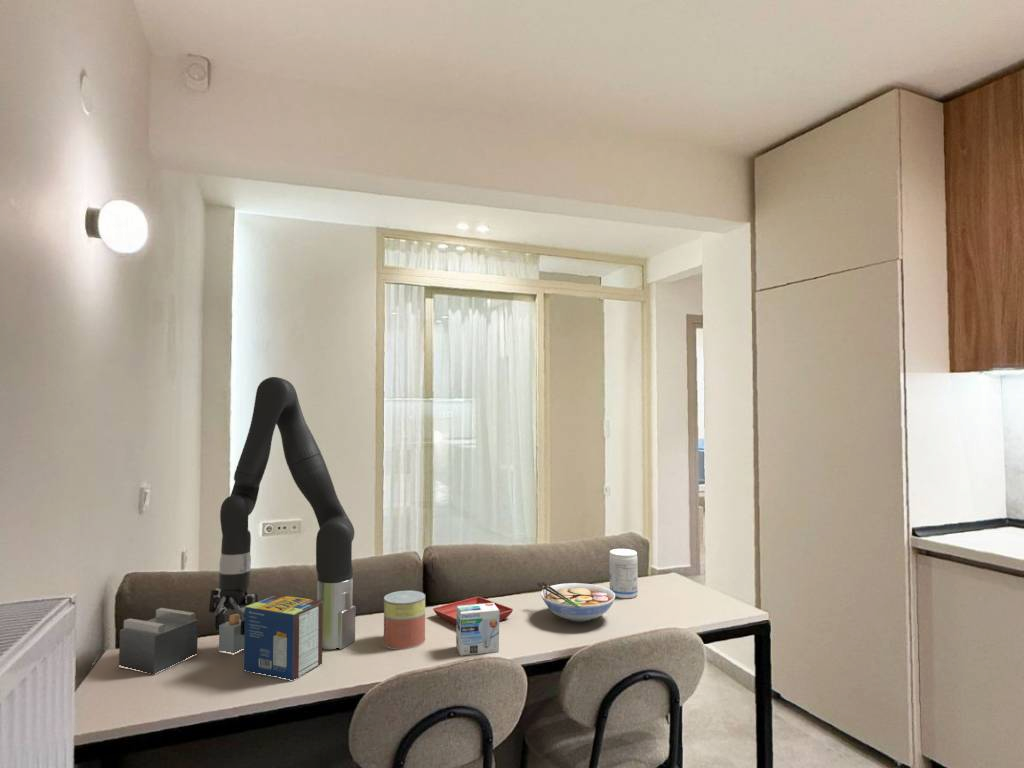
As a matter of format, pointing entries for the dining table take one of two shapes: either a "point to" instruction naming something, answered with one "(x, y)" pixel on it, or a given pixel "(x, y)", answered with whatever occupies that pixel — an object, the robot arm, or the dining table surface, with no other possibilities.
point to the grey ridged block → (158, 640)
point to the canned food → (404, 619)
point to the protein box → (283, 636)
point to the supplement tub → (623, 573)
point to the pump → (231, 635)
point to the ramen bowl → (577, 600)
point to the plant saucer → (450, 610)
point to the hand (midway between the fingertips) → (232, 631)
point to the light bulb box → (477, 629)
